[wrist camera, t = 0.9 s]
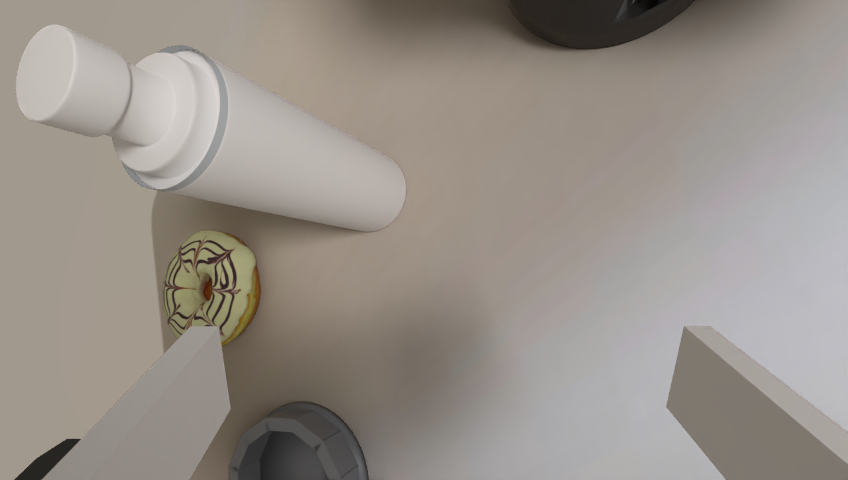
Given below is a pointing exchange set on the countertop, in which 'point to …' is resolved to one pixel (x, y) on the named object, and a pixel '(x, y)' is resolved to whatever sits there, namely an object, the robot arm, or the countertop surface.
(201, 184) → the spray bottle
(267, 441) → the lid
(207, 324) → the decorated donut
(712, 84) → the countertop surface
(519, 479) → the countertop surface
